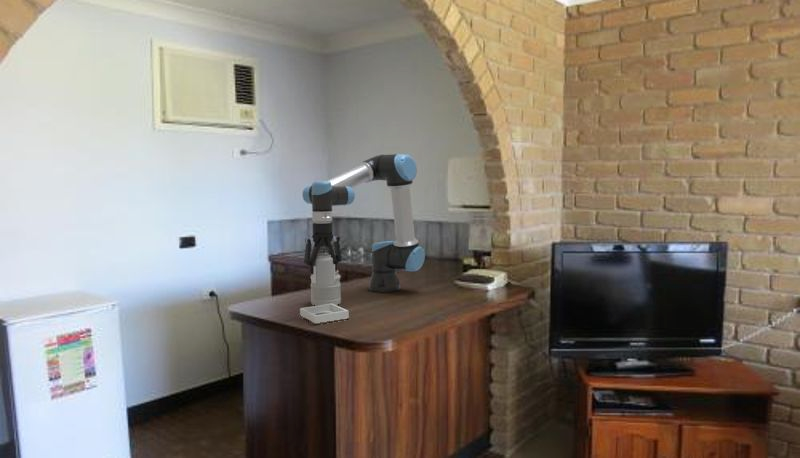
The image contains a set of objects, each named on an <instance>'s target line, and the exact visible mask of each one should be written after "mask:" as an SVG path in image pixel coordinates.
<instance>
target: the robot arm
mask: <svg viewBox="0 0 800 458" xmlns="http://www.w3.org/2000/svg"><path fill="white" fill-rule="evenodd" d="M417 172H418V170H417V164H416V161H415V160H414V158H413V157H412V156H411V155H409V154H402V153H393V154H391V153H390V154H379V155H375V156H373V157H370V158H368V159H364V160H363V161H361V162H359V163H358V164H357V166H356V167H354V168H350V170H347V171H345V172H343V173H340V174H338V175H336V176H334V177H332V178H330V179H327V180H325V181H313V182H312V184H311V185H307V186H305V187H304V188H303V191H302V200H303V201H304V202H305V203H307V204H310V205H311V211H312V212H311V214H312V215H311V217H312V222H313V223H312V236H311V237H309V238H308V237H307V238H305V239H304V242H305V249H304V251H305V252H304V258H303V264H304V265H307V266H308V273H309V275H310V277H311V278H310V279H311V283H316V266H314V263H315V260H316V257H317V254H319V251H320V250H321V248H323V247H325V248H326V250H327V254H330V255H331V257H332V258H333V281H335V272H337V270H338V264H339V263H340V262H342V260H343V259H342V254H341V247H340V240H341V237H340V236H338V235H333V223H332V221H333V207H335V206H336V207H337V206H347V205H351V204H353V202H354V201H355V197H356V195H355V190H354V188H355V187H357V186H359V185H361V184H363V183H371V182H373V181H386V187H388V188H389V189H390V194H391V196H390V197H391V202H392V204H391V205H392V213H393V223H394V230H395V240H389V241H388V240H386V241H380V242H379V241H378V242H374V243H373V244H372V248H371V268H372V269H371V270H372V272H371V273H372V274H371V276H370V280H369V283H368V290H369V291H371V292H376V293H389V292H390V293H391V292H397V291H399V290H401V283H400V280H399V277H398V274H397V270H398V271H399V270H401V271H407V272H417V271H419V270H420V269H421V267H422V266H423V264H424V262H425V258H426V252H425V249H424V248H423V247H421V246H420V243H419V240H418V239H417V238H416V237H415V236H416V235H415V227H414V217H413V207H412V206H413V205H412V198H411V197H412V196H411V186H412V185H413V180H414V179H416V176H417V175H416V174H417ZM332 241H333V245H332V243H331V242H332ZM313 242H314V245H313V249H312V243H313ZM333 248H334V249H333Z"/></svg>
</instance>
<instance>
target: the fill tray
mask: <svg viewBox="0 0 800 458" xmlns="http://www.w3.org/2000/svg"><path fill="white" fill-rule="evenodd" d="M349 314H350V313H349V309H345V308H343V307H341V306H338V305H335V304H325V305H319V306H314V305H311V306H307V307H301V308H300V307H299V316H300V315H301V316H303V317H305V318H307V319H309V320H311V321H312V322H314V323H320V322H327V321H334V320H340V319H347V318H349V317H350V315H349ZM349 319H350V318H349Z"/></svg>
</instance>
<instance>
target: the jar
mask: <svg viewBox="0 0 800 458" xmlns="http://www.w3.org/2000/svg"><path fill="white" fill-rule="evenodd" d="M339 272H340V270H339V269H337V272H335V281H333V284H332V285H331V286H328V287H317V286H316V285H315V284H314V283H312V282H311V283H310V284H309V285H310V303H311V306H314V305H315V306H319V305H325V304H335V305H337V306H338V304H339V305H340V304H341V302H342V294H341V293H342V292H341V287H342V286H341V285H342V283H341V281H340V280H341V277H342V276H341V274H339ZM310 279H311V276H310Z"/></svg>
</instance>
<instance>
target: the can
mask: <svg viewBox="0 0 800 458" xmlns="http://www.w3.org/2000/svg"><path fill="white" fill-rule="evenodd" d="M314 266H316V283H314V284H315V285H316V286H317V287H328V286H331V285H332V284H333V258H332V257H331V255H330V254H329V253H318V254H317V257H316V260H315V263H314Z"/></svg>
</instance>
